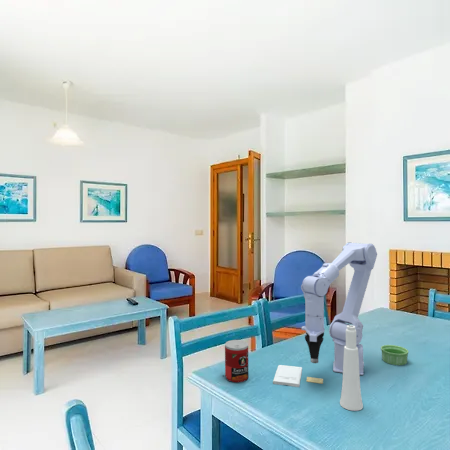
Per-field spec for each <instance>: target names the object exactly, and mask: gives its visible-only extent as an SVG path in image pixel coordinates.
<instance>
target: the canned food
mask: <svg viewBox="0 0 450 450" xmlns="http://www.w3.org/2000/svg"><path fill="white" fill-rule="evenodd" d="M224 367H225V368H224V370H225V371H224V372H225V374H224V375H225V378H226V380H227V379H228V380H227V381H229V382H231V381H232V382H231V383H243V382H246V381H247V380H248V378H249V343H248V342H247V341H244V340H241V339H232V340H228V341H226V342H225V344H224Z"/></svg>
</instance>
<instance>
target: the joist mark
mask: <svg viewBox="0 0 450 450" xmlns="http://www.w3.org/2000/svg"><path fill="white" fill-rule="evenodd" d="M305 381H306V383H307V382H308V383H315V384H322V385H323V384H324V378H320V377H319V378H318V377H311V376H306V380H305Z"/></svg>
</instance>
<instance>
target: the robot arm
mask: <svg viewBox="0 0 450 450" xmlns="http://www.w3.org/2000/svg"><path fill="white" fill-rule="evenodd" d="M377 257H378V253H377V248H376V246H375V245H374V243H361V242H360V243H359V242H358V243H357V242H347V243H345V245H343V246H342V250H341V252H339V254H338V255H337V256H336V258H334V259H333V260H332V262H325V263H323V264H322V266H321V267H320V268H319V269H318V270H316V271H315V272H313V274H312V275H306V277H305V278H304V279H303V280H302V283H301V285H300V289H301V291H302V293H303V298H304V300H305V302H304V303H305V304H304V306H305V308H304V309H305V310H304V311H305V313H304V314H305V315H304V317H305V320H304V321H305V325H303V326H301V330H302V331H305V336H304V341H306V344H307V346H308V350H309V351H308V353H309V356H310V360H311V359H318V360H319V355H320V350H321V349H320V348H321V346H322V344H323V341H324V336H325V310H324V309H325V306H324V305H325V304H324V302H325V295H326V294H327V293H328V291H329V287H330V286H331V284H332V283H333V282H334V281H335V280H336V279H337V278H338V277H339V275H340V271H341V270H342V269H343V268H345V267H346V266H347V265H349V266H350V267H351V268H353V270H354V272H353V276H352V278H351V282H350V285H349V289H348V292H347V294H346V295H347V296H346V298H345V301H344V305H343V307H342V308H343V309H342V311H341V312H340V313H338V314H336V315H335V316H334V318H333V320H332V322H331V323H330V325H329V328H328V334H329V337H330V338H332V342H334V343H333V344H334V353H333V355H334V356H333V357H334V361H332V362H333V363H332V365H333V367H332V371H333V372H334V373H342V374H343V360H344V346H346V329H347V325H353V326H355V330H356V347H357V348H358V356H359V375H360V376H364V366H365V362H364V345H363V344H362V343H361V342H362V339H363V329H364V325H363V323H362V321H361V320H360V319H359V314H360V310H361V309H362V304H363V300H364V298H365V294H366V290H367V287H368V283H369V280H370V277H371V273H372V270H374V267H375V263H376V259H377Z"/></svg>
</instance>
